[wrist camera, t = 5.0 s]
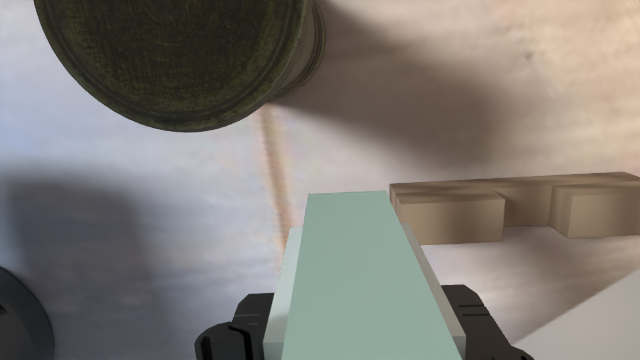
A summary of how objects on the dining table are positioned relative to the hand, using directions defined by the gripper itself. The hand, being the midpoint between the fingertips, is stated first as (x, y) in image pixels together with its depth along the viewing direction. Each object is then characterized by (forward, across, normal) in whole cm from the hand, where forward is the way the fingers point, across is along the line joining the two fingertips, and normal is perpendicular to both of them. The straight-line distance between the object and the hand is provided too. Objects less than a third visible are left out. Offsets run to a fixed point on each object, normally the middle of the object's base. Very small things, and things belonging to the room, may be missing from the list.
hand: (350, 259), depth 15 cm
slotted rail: (+17, +13, -4) cm, 22 cm away
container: (+17, -5, +9) cm, 20 cm away
